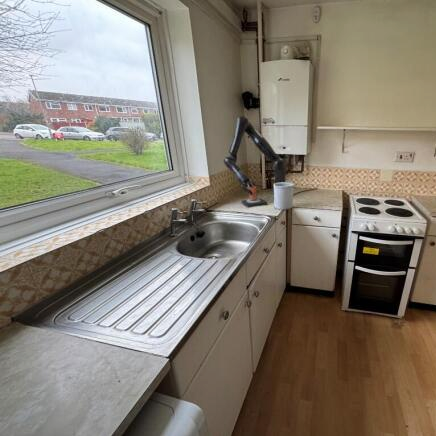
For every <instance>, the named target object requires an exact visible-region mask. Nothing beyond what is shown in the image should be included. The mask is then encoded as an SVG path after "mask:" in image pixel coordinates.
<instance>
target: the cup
mask: <svg viewBox="0 0 436 436" xmlns="http://www.w3.org/2000/svg"><path fill="white" fill-rule="evenodd" d="M256 186H257V185H256ZM256 186H250V187H249V189H250V190H251V192H252V193H253V194H252V195H250V194H249V193H248V199H249V200H257V198H258V193H257V190H258V186H257V187H256Z"/></svg>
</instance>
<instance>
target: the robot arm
mask: <svg viewBox="0 0 436 436" xmlns="http://www.w3.org/2000/svg"><path fill="white" fill-rule="evenodd" d="M244 134H246V135H247V136H248V137H249V138H250V140H251V142H252V143H253V144H254V145H255V147H256V148H257V149H258V150H259V151H260V152H261V153H262V154H263V155H264V156H265V157H266V158H267V159H268V160H269V161H270V162H271V164H272V165H273V167H274V184H275V183H280V182H287V181H286V180H287V179H286V178H287V177H286V176H287V164H286V161H285V160H284V159H283V158H281V157H280V156H279V154H277V153H276V152H275V150H274V149H273V147H272V145H271V144H270V143H269V141H268V140H267V139H266V138H265V137H264V136H263V135H262V134H261V133H260V132H259V131H258V130H257V129H256V128H255V127H254V126H253V124H252V123H251V121H250V120H249V118H248V117H247V116H246V115H240V116H238V118H237V119H236V125H235V131H234V134H233V137H232V140H231V142H230V145H229V148H228V153H229V156H225V157H223V164H224V165H225V167H226V168H227V169H228V170H229V171H231V172H232V173H233V175H234V177H235V178H236V179H237V181H238V182H239V183H240V184H241V185H240V188H241V189H242V190H243V191H244V192H247V193H248V195H249V194H250V195H252V194H253V193H252V192H251V190H250V189H249V187H250V186H256V187H257V188H258V186H257V185H256V183H255V182H254V181H253V180H252V181H250V178H249V177H248V175H247V173H246V172H244V171H243V169H242V168H241V167H240V166H239V165H238V164H237V161H238V154H239V150H240V147H241V144H242V141H243V137H244ZM313 190H314V191H315V190H317V188H316V187H315V188H311V189H310V188H309V189H306V190H301V191H297V192H295V193H293V196H294V195H297V194H300V193H302V192H309V191H313ZM258 193H259V190H258V189H257V194H258Z"/></svg>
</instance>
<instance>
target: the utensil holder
mask: <svg viewBox="0 0 436 436" xmlns="http://www.w3.org/2000/svg"><path fill="white" fill-rule="evenodd" d="M272 186H273V201H274V202H273V203H274V209H277V210H283V211H284V210H285V211H286V210H290V209H293V206H294V195H293V194H294V183H292V182H287V181H286V182H280V183H275V182H274V183H273V185H272Z"/></svg>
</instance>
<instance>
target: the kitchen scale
mask: <svg viewBox="0 0 436 436" xmlns="http://www.w3.org/2000/svg"><path fill="white" fill-rule="evenodd" d="M241 204H242V205H243V206H245V207H246V208H254V207H260V206H267V205H268V201H266V200H265V199H263V198H261V197H257V200H249V198H248V199H244V200H241Z"/></svg>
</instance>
